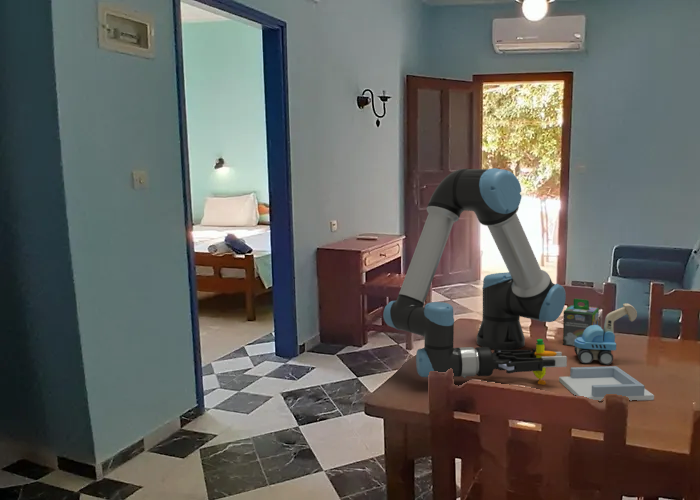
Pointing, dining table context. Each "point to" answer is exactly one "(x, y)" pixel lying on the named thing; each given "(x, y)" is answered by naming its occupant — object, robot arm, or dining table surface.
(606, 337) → the toy excavator
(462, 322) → the dining table surface
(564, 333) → the chalk box
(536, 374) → the toy figure
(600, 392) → the open-sided tray
